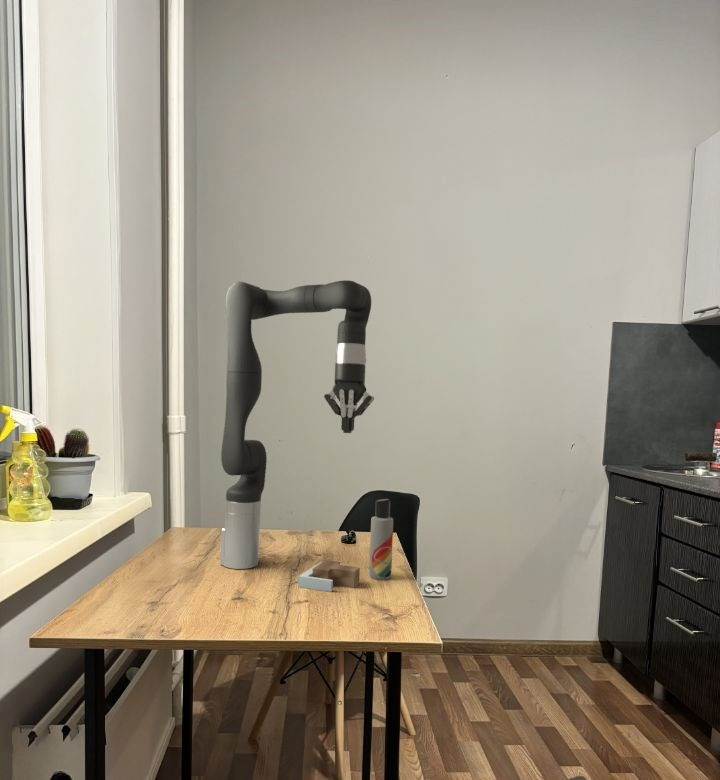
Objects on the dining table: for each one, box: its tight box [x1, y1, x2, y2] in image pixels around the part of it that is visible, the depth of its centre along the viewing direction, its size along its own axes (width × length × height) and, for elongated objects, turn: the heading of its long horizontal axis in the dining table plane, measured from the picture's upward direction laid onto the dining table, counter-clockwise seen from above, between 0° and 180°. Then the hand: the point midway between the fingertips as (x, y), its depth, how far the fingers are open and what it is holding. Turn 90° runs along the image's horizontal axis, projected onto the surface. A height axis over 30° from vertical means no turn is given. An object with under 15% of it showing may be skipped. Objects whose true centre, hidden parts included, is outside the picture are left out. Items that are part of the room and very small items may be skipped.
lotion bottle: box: [368, 498, 394, 581], centre depth 149 cm, size 6×6×20 cm
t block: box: [312, 559, 361, 589], centre depth 142 cm, size 10×8×4 cm
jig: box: [297, 561, 349, 593], centre depth 143 cm, size 8×14×2 cm, turn 161°
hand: (347, 432), depth 143 cm, fingers closed
